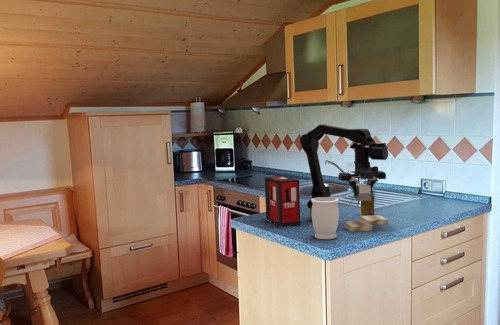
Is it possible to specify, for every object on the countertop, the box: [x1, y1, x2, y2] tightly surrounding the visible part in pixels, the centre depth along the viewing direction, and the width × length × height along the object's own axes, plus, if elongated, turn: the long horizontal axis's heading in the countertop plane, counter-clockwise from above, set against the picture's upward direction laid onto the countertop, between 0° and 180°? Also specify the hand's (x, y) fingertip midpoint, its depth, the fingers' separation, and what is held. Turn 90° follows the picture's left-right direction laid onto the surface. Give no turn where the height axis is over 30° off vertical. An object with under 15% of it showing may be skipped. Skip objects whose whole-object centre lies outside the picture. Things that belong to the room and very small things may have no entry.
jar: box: [310, 196, 340, 240], centre depth 172 cm, size 11×10×15 cm
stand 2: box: [359, 214, 389, 226], centre depth 193 cm, size 9×9×2 cm
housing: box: [352, 183, 371, 202], centre depth 185 cm, size 5×7×6 cm
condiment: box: [358, 189, 379, 216], centre depth 206 cm, size 7×8×12 cm
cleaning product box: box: [264, 175, 301, 228], centre depth 197 cm, size 16×9×20 cm, turn 22°
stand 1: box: [343, 220, 373, 233], centre depth 184 cm, size 9×9×2 cm
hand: (362, 196), depth 185 cm, fingers closed on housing, 5 cm apart
